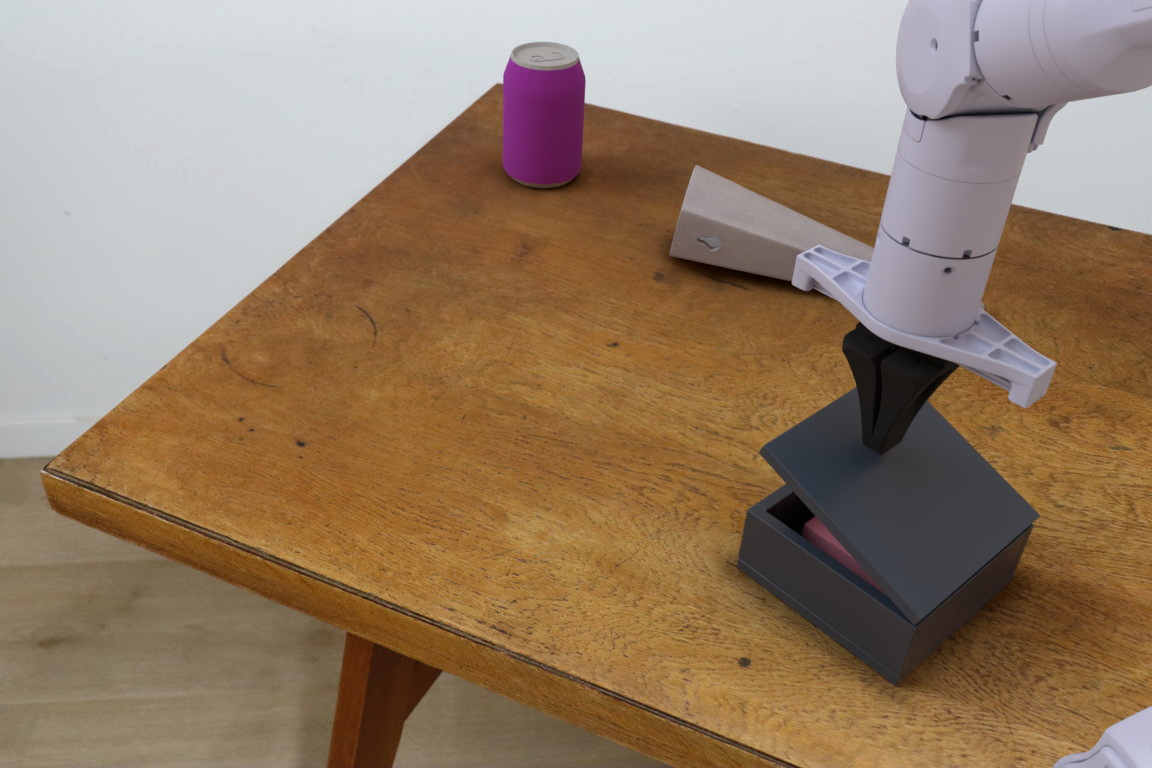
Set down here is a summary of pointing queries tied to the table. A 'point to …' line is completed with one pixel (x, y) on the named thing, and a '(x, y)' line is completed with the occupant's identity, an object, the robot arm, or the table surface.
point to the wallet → (833, 548)
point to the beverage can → (543, 114)
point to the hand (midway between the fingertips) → (881, 442)
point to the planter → (750, 230)
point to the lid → (901, 500)
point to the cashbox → (857, 589)
